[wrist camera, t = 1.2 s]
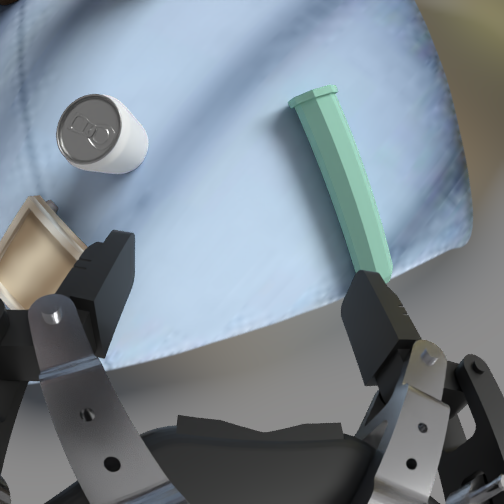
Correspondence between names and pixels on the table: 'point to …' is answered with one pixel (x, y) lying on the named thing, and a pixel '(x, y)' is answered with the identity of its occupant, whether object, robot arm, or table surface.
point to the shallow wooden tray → (36, 254)
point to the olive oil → (7, 2)
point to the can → (101, 135)
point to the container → (344, 178)
